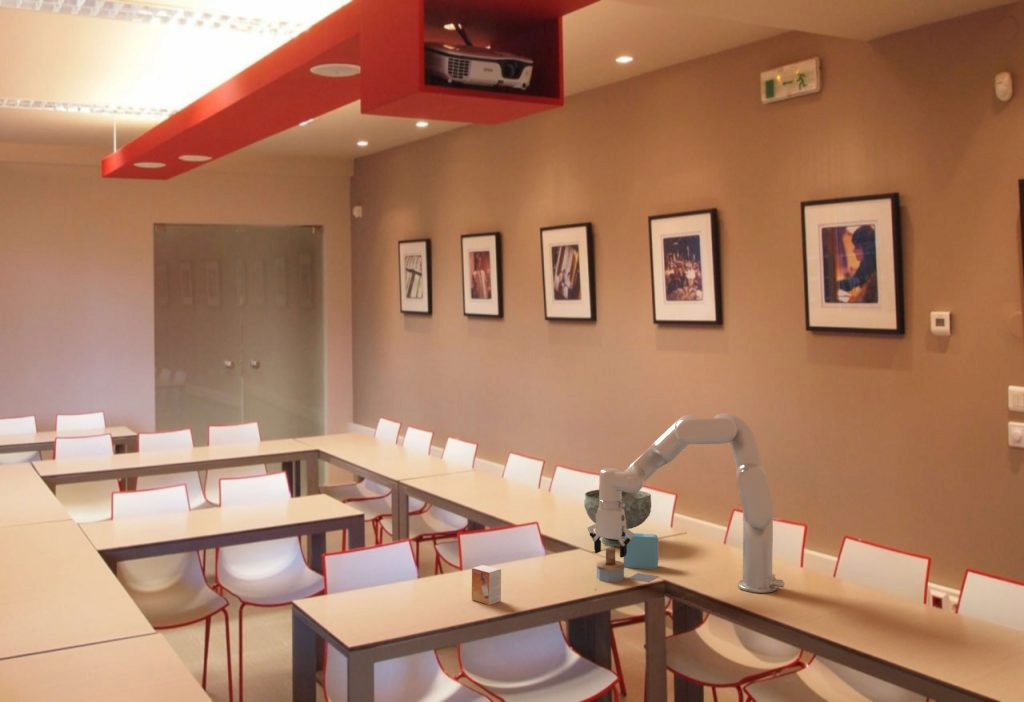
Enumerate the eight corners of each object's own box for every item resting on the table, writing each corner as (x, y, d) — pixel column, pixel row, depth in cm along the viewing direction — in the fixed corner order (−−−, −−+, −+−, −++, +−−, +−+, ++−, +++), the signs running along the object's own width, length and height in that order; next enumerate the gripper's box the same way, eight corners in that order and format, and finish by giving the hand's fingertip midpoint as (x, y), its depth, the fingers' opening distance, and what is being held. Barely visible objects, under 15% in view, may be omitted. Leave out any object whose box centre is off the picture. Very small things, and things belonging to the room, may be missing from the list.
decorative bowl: (595, 551, 370) (597, 499, 370) (574, 537, 395) (576, 487, 395) (660, 550, 377) (662, 498, 376) (636, 535, 402) (637, 487, 401)
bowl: (627, 578, 337) (627, 565, 336) (615, 585, 330) (615, 571, 329) (605, 574, 342) (605, 562, 341) (593, 580, 334) (593, 567, 334)
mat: (658, 578, 337) (659, 576, 337) (648, 583, 331) (648, 582, 331) (638, 574, 342) (638, 572, 342) (627, 580, 335) (627, 578, 335)
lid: (629, 565, 337) (629, 548, 336) (616, 572, 329) (616, 554, 328) (605, 561, 342) (605, 544, 342) (591, 568, 334) (591, 550, 334)
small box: (471, 600, 314) (471, 567, 313) (483, 596, 318) (483, 564, 317) (489, 605, 308) (489, 572, 308) (501, 601, 313) (501, 568, 312)
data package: (658, 567, 351) (658, 534, 351) (657, 570, 347) (657, 537, 346) (624, 565, 354) (624, 532, 353) (623, 569, 349) (623, 535, 348)
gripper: (638, 505, 332) (638, 555, 333) (593, 500, 342) (593, 548, 343) (628, 510, 326) (627, 560, 327) (582, 503, 336) (582, 553, 337)
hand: (610, 554), depth 335 cm, fingers open, 9 cm apart
